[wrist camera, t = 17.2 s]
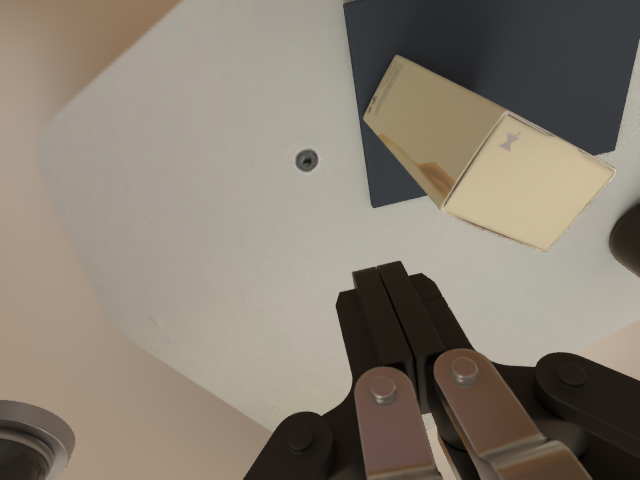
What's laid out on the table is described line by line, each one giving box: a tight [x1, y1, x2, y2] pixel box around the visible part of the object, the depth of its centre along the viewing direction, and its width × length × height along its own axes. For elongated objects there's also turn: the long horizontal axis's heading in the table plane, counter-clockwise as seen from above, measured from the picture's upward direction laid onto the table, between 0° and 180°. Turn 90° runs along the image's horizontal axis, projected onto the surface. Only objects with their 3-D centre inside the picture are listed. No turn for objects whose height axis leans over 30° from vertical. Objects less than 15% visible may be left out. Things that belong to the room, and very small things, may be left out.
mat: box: [343, 0, 640, 208], centre depth 26 cm, size 18×13×1 cm
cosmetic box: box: [363, 55, 616, 252], centre depth 21 cm, size 6×4×12 cm
